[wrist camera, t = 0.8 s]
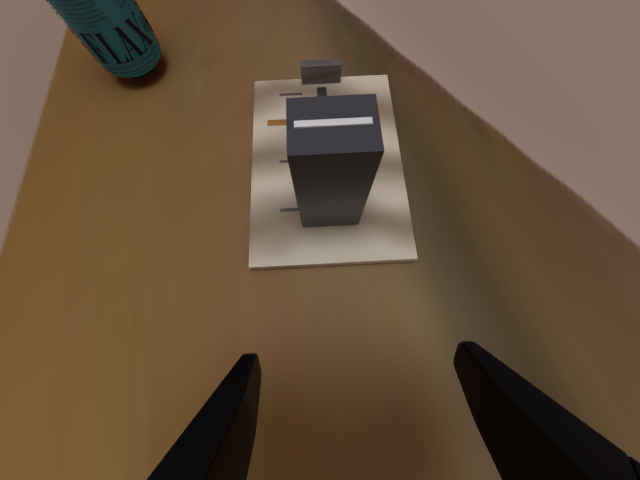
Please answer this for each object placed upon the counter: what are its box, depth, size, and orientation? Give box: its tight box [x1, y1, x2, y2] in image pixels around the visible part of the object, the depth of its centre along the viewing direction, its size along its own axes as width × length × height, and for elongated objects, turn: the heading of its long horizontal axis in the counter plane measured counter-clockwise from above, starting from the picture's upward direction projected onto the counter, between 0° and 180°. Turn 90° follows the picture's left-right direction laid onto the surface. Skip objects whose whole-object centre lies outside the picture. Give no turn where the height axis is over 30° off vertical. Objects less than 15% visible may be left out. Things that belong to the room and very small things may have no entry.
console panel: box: [249, 59, 418, 270], centre depth 24 cm, size 20×14×3 cm
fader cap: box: [286, 94, 384, 227], centre depth 18 cm, size 4×5×10 cm
